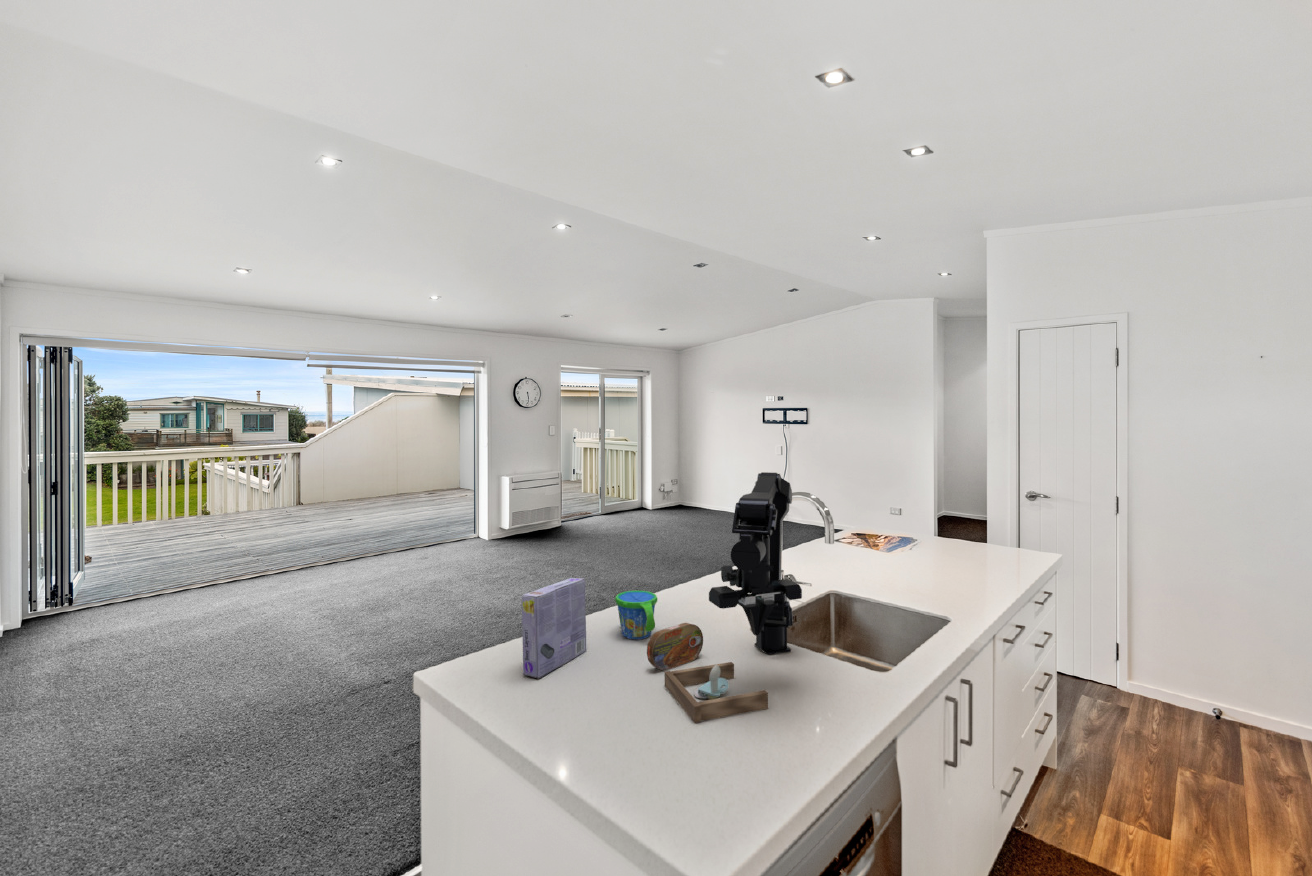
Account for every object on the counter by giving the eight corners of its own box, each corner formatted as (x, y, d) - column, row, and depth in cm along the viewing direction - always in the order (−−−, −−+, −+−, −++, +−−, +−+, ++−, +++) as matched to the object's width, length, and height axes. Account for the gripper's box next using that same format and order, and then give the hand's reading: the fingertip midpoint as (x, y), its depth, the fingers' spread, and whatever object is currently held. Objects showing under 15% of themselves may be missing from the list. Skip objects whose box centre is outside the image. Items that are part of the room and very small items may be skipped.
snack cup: (667, 642, 144) (667, 601, 144) (627, 649, 140) (627, 607, 140) (644, 623, 159) (644, 586, 159) (607, 628, 155) (607, 590, 155)
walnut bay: (731, 675, 125) (730, 661, 125) (768, 709, 110) (768, 693, 110) (664, 686, 120) (664, 671, 120) (694, 723, 105) (694, 706, 105)
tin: (653, 675, 126) (653, 636, 126) (644, 670, 128) (644, 632, 128) (704, 657, 135) (704, 621, 135) (695, 653, 138) (695, 618, 137)
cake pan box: (573, 646, 143) (572, 574, 142) (590, 649, 140) (589, 576, 140) (520, 676, 126) (519, 594, 125) (538, 680, 123) (537, 597, 123)
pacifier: (687, 698, 115) (713, 706, 112) (686, 667, 115) (712, 673, 112) (707, 685, 121) (732, 691, 118) (705, 655, 121) (731, 661, 118)
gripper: (774, 547, 130) (775, 617, 130) (697, 554, 123) (698, 627, 124) (803, 558, 119) (803, 633, 119) (720, 566, 113) (721, 646, 113)
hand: (755, 634), depth 119 cm, fingers closed
